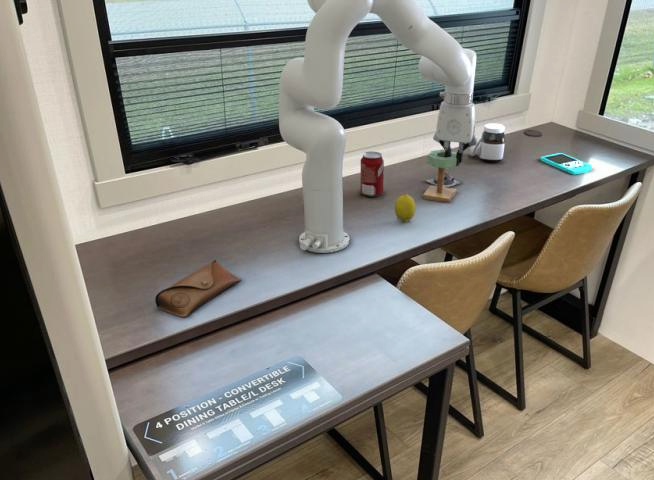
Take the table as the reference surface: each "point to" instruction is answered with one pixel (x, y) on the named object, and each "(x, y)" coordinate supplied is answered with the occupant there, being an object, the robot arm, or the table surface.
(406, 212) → the lemon
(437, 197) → the post
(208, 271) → the sunglasses case
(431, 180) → the donut
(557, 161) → the handheld game console
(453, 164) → the ring
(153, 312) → the table surface
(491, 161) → the spread jar
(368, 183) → the soda can
